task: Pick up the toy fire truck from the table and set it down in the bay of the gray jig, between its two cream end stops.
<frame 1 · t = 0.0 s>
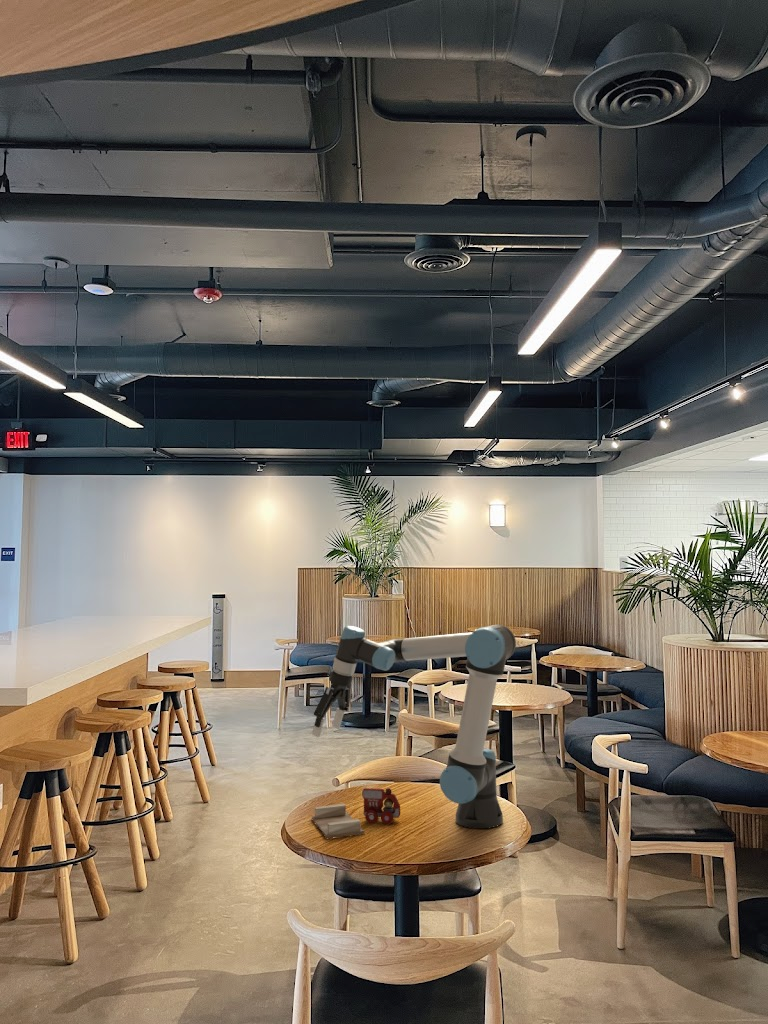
hand: (325, 731, 258), 28 cm above the table, tool tilted 20°, fingers open, 13 cm apart
toy fire truck: (381, 821, 250), on the table
gray jig: (337, 826, 245), on the table
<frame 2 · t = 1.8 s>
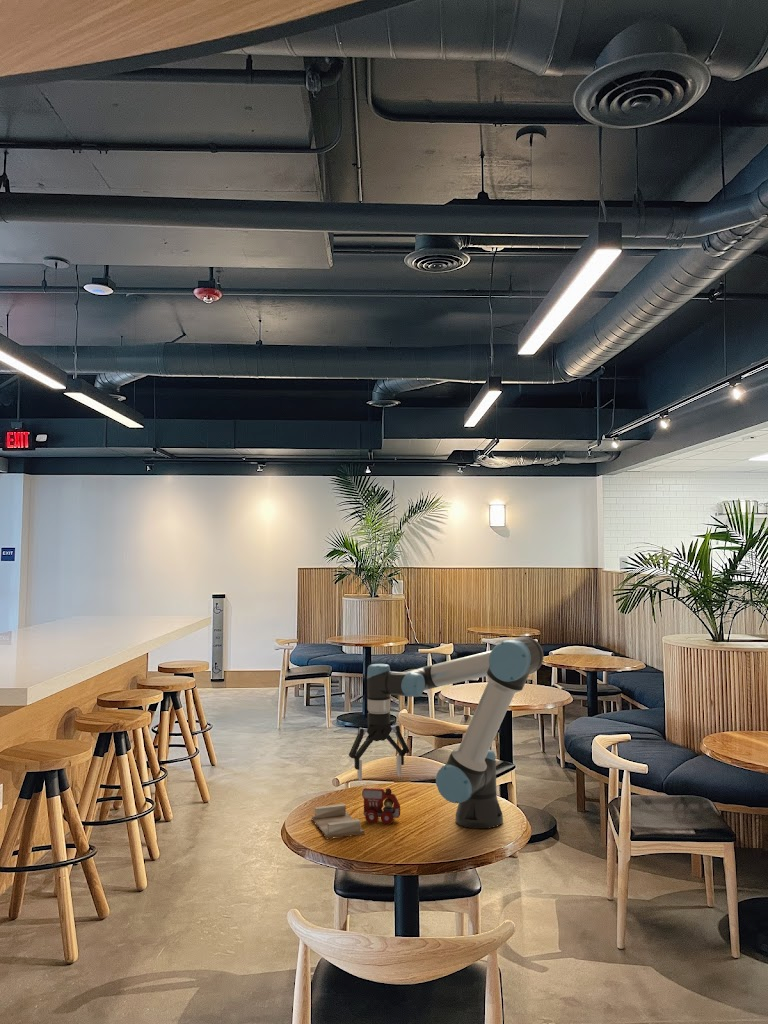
hand: (379, 777, 251), 14 cm above the table, tool pointing down, fingers open, 13 cm apart
nothing on the table moved.
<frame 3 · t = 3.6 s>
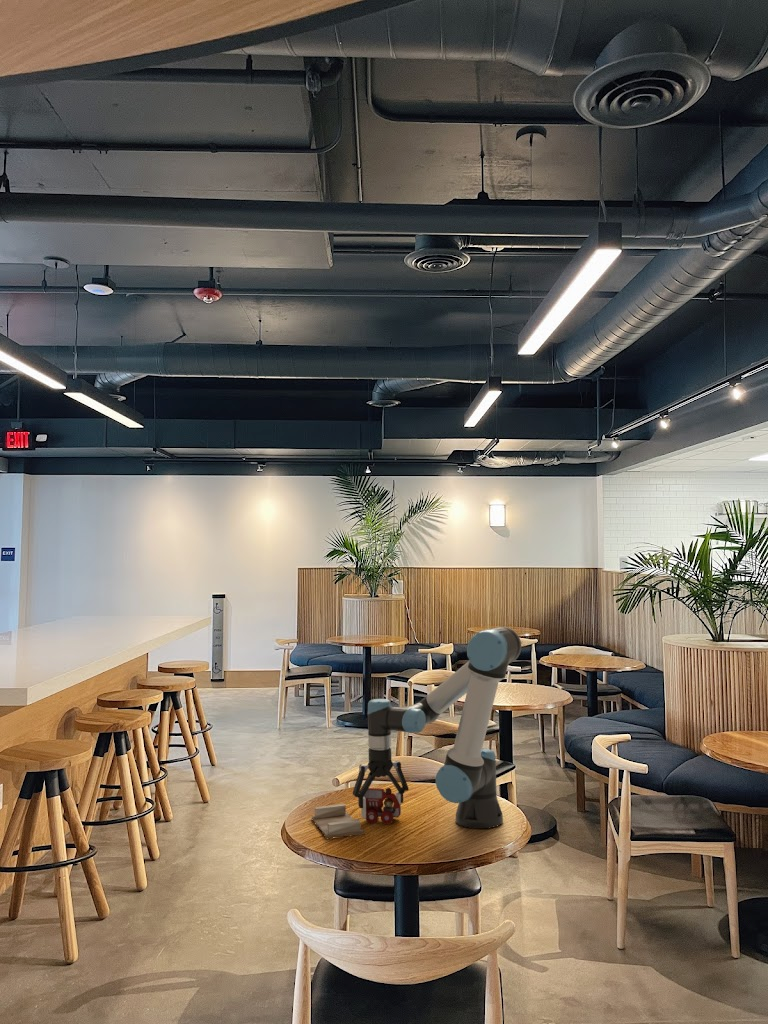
hand: (381, 815, 250), 2 cm above the table, tool pointing down, fingers closed on toy fire truck, 11 cm apart
toy fire truck: (381, 821, 250), on the table, touching gripper
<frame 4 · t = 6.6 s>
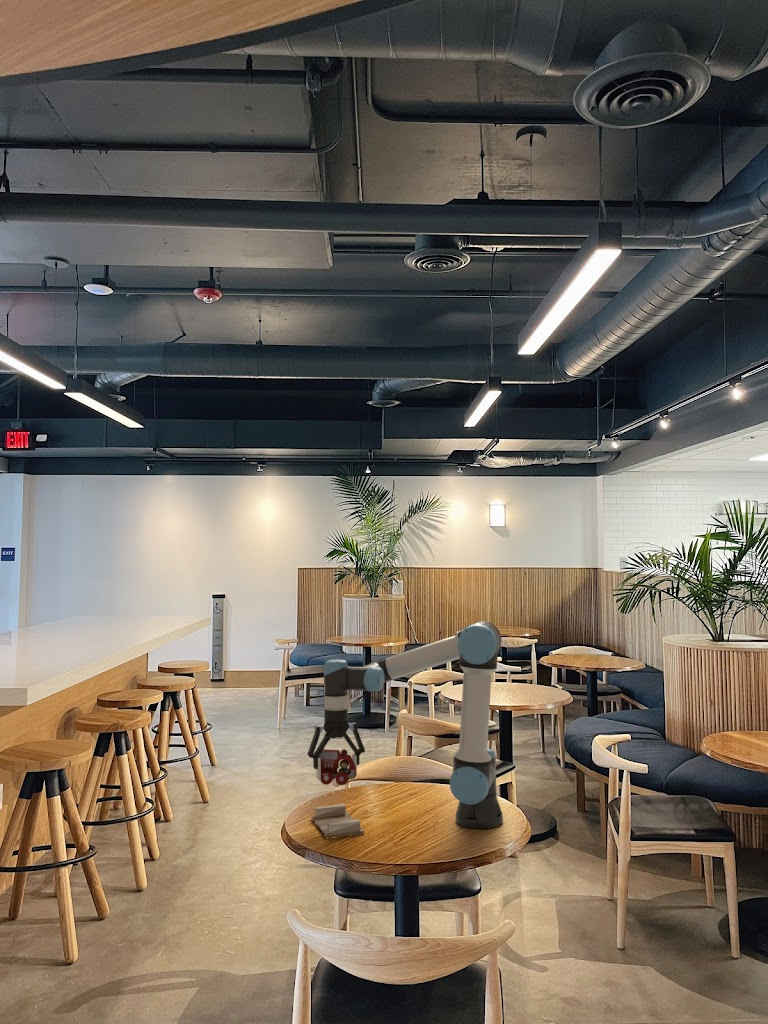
hand: (336, 777, 247), 15 cm above the table, tool pointing down, fingers closed on toy fire truck, 11 cm apart
toy fire truck: (336, 783, 246), point 14 cm above the table, touching gripper
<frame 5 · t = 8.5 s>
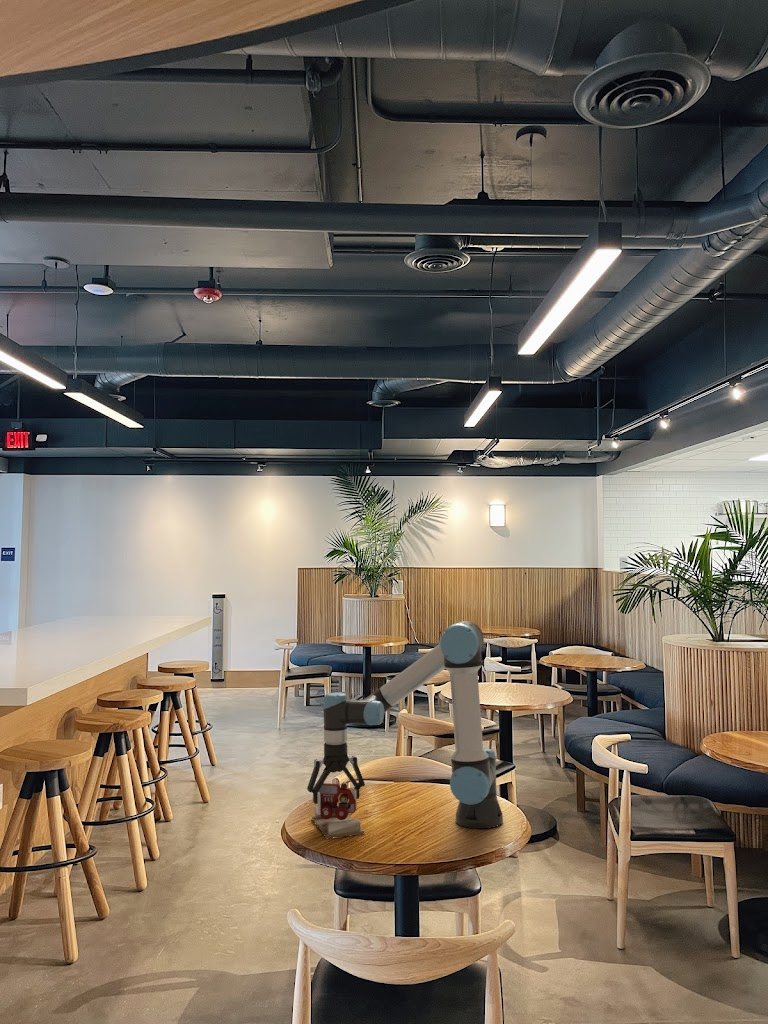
hand: (336, 811, 246), 5 cm above the table, tool pointing down, fingers closed on toy fire truck, 11 cm apart
toy fire truck: (336, 817, 245), point 3 cm above the table, touching gripper
when the fingers open (4 cm above the table, at t = 9.8 s): toy fire truck stays where it is, resting on gray jig.
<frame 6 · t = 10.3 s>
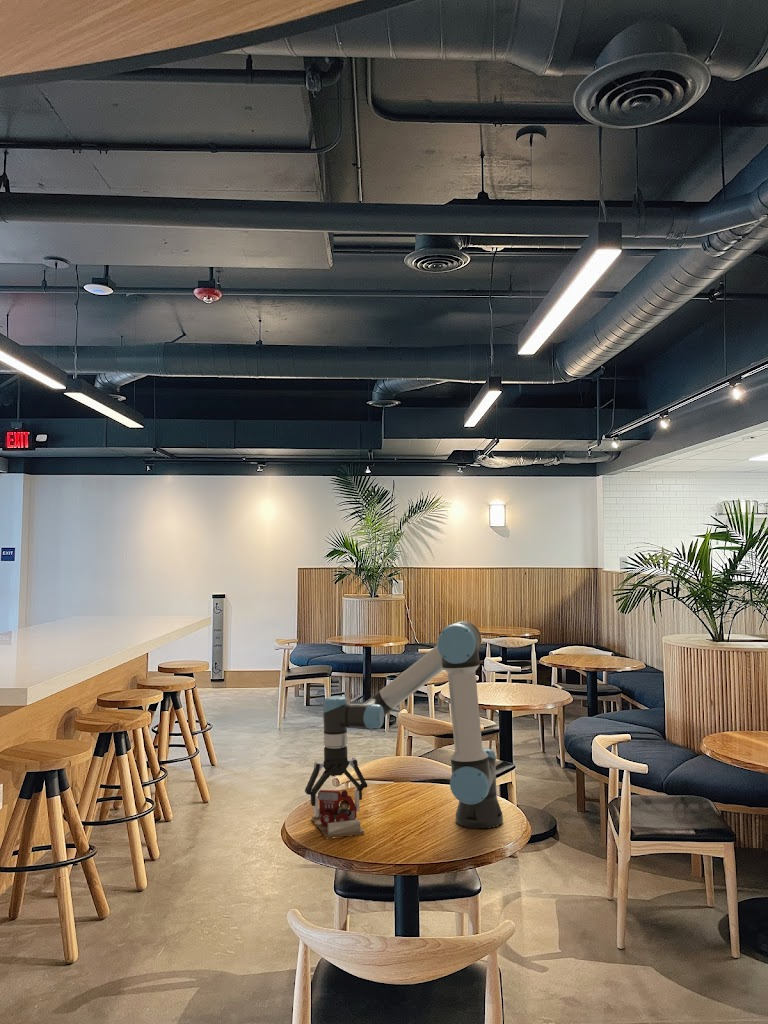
hand: (336, 813, 245), 4 cm above the table, tool pointing down, fingers open, 13 cm apart
toy fire truck: (337, 824, 245), point 1 cm above the table, touching gray jig
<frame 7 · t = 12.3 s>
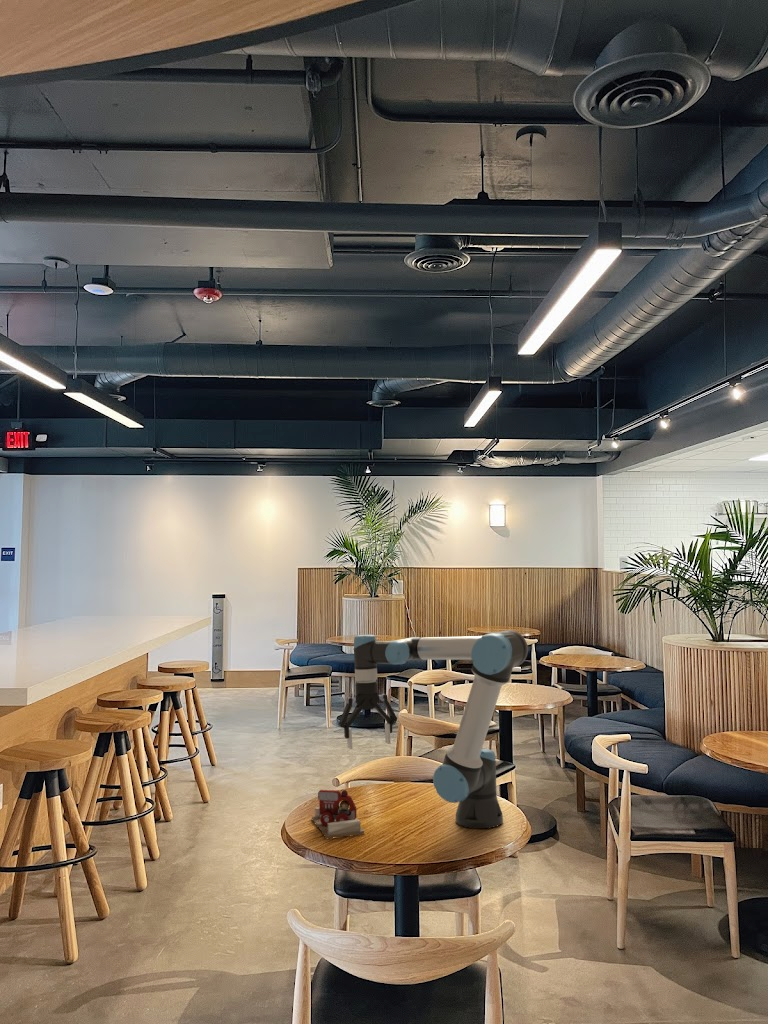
hand: (369, 745, 256), 23 cm above the table, tool pointing down, fingers open, 13 cm apart
nothing on the table moved.
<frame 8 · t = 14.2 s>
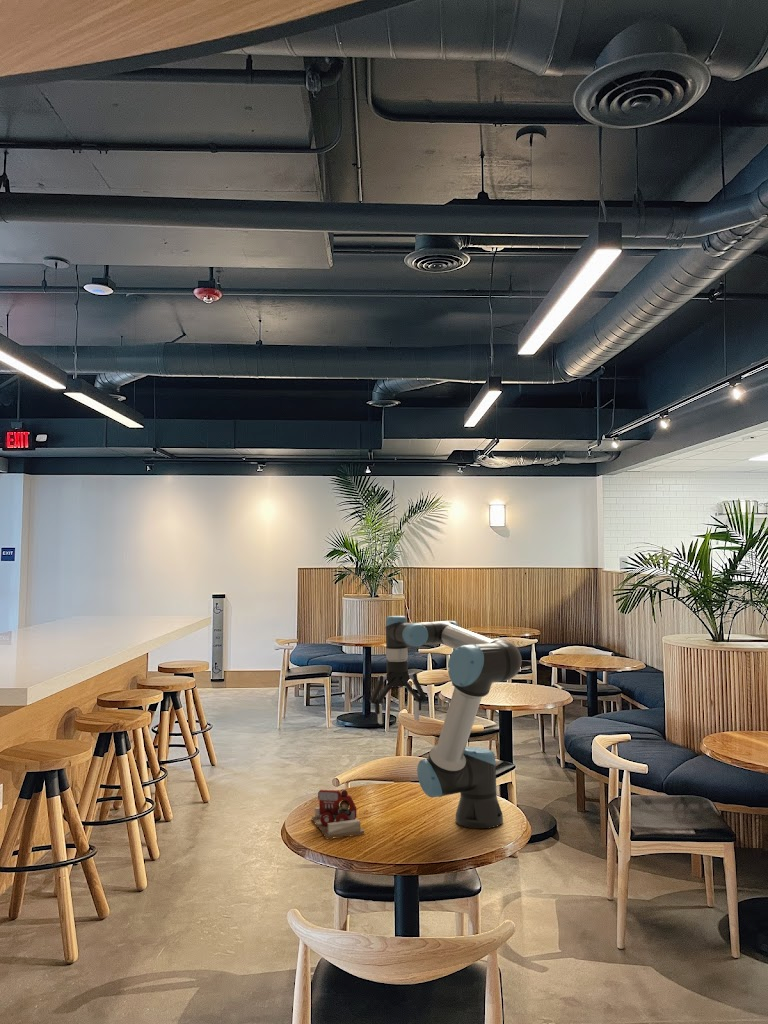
hand: (398, 721, 267), 29 cm above the table, tool pointing down, fingers open, 13 cm apart
nothing on the table moved.
at the end: toy fire truck 0.1 cm off-centre on the gray jig, point 0.8 cm above the gray jig's base; toy fire truck tilted 0°; the gripper is holding nothing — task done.
